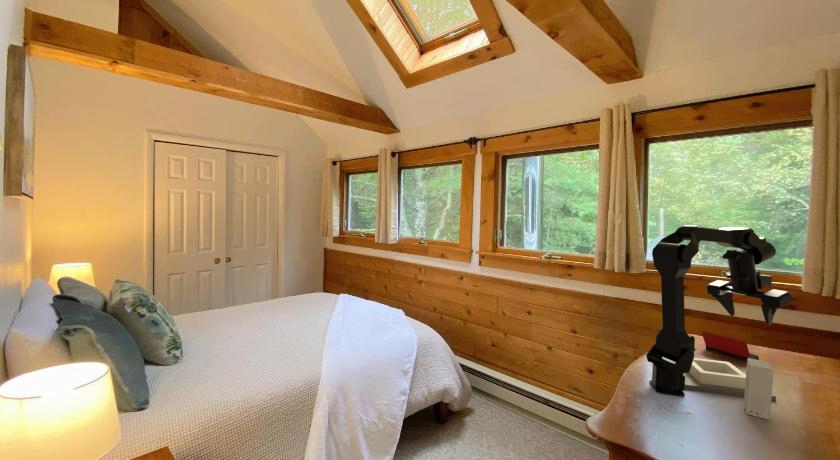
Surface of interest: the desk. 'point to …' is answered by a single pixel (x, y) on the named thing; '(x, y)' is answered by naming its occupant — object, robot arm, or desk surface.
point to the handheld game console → (727, 346)
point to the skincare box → (758, 388)
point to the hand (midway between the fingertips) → (750, 319)
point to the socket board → (716, 378)
